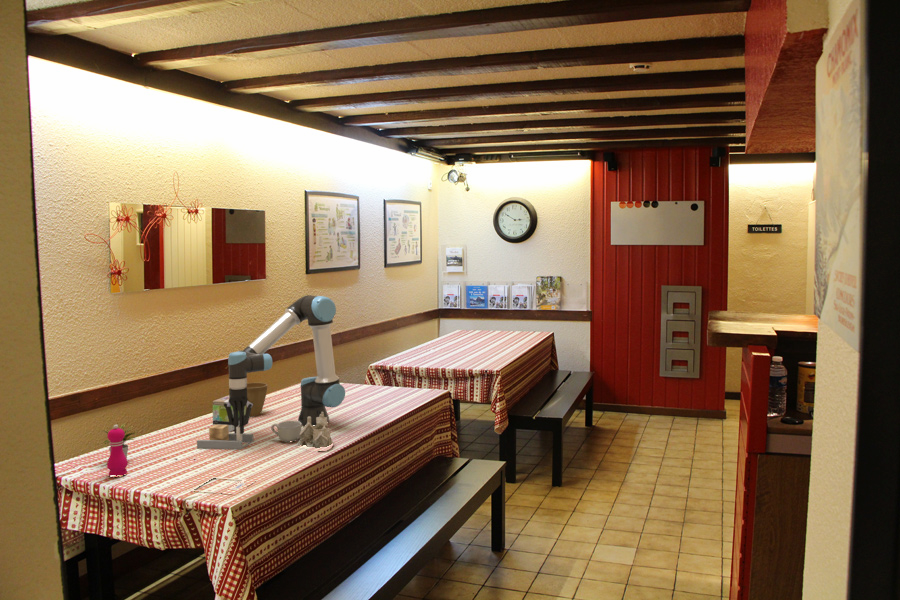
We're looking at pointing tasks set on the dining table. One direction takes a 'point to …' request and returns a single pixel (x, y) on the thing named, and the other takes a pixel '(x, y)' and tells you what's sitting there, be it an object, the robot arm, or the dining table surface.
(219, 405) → the tea box
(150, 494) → the dining table surface
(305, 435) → the ceramic cottage
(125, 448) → the house plant
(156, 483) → the dining table surface
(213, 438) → the wood block
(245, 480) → the clear plastic bag
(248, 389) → the plant pot
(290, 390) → the dining table surface
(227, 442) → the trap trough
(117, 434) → the pepper mill
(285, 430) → the teacup
